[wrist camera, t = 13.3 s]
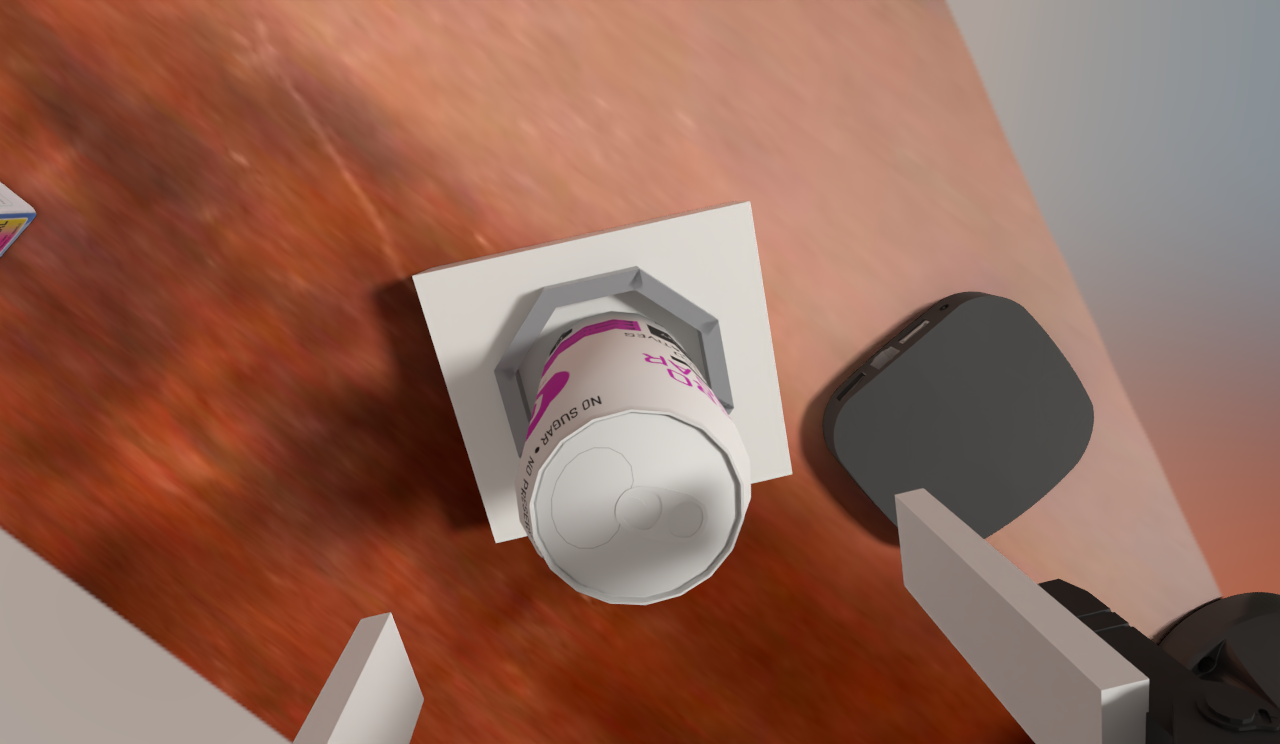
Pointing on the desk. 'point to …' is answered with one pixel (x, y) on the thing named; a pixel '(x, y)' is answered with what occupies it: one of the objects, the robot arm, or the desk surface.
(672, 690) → the desk surface
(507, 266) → the mount base
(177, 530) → the desk surface
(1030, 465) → the media streaming box
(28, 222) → the ink cartridge box
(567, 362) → the supplement can
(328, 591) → the desk surface
